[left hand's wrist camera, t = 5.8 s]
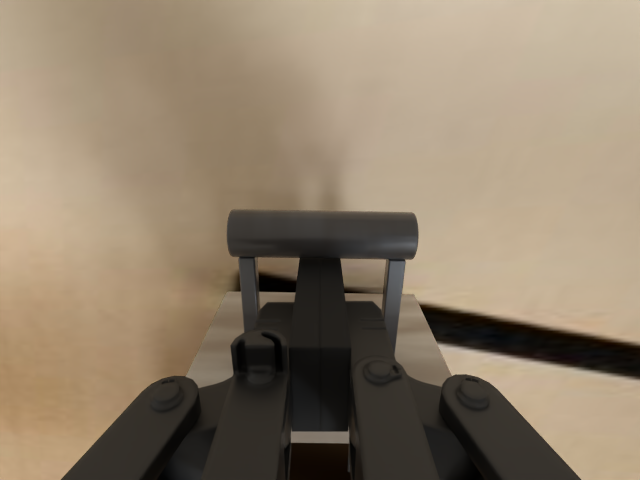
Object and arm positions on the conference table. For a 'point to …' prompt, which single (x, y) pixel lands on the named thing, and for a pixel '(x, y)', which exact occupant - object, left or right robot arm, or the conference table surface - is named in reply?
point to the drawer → (398, 309)
